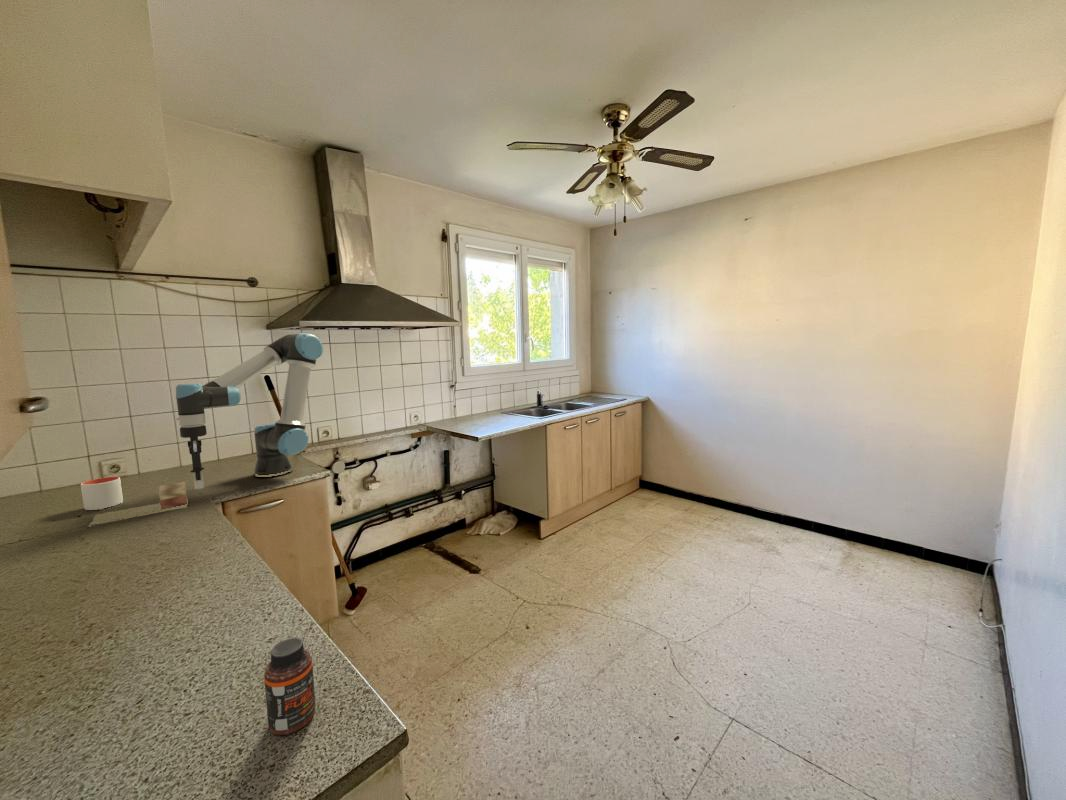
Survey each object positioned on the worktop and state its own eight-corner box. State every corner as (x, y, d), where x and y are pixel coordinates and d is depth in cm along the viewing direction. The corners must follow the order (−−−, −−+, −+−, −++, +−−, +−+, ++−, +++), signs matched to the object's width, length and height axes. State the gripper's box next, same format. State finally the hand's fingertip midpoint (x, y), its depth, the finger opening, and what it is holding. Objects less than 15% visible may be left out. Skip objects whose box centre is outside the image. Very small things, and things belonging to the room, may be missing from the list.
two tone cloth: (187, 500, 157) (185, 481, 156) (186, 504, 151) (184, 486, 150) (162, 504, 152) (160, 485, 151) (161, 509, 147) (158, 490, 146)
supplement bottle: (289, 744, 56) (281, 666, 55) (258, 730, 59) (251, 655, 57) (325, 709, 62) (319, 637, 61) (296, 697, 64) (290, 628, 63)
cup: (99, 512, 146) (95, 485, 145) (76, 511, 148) (72, 484, 147) (131, 502, 156) (127, 476, 155) (109, 502, 158) (105, 476, 157)
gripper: (179, 424, 156) (186, 486, 158) (179, 429, 146) (186, 494, 148) (205, 422, 161) (211, 482, 163) (206, 426, 151) (212, 490, 153)
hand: (199, 488), depth 156 cm, fingers closed
